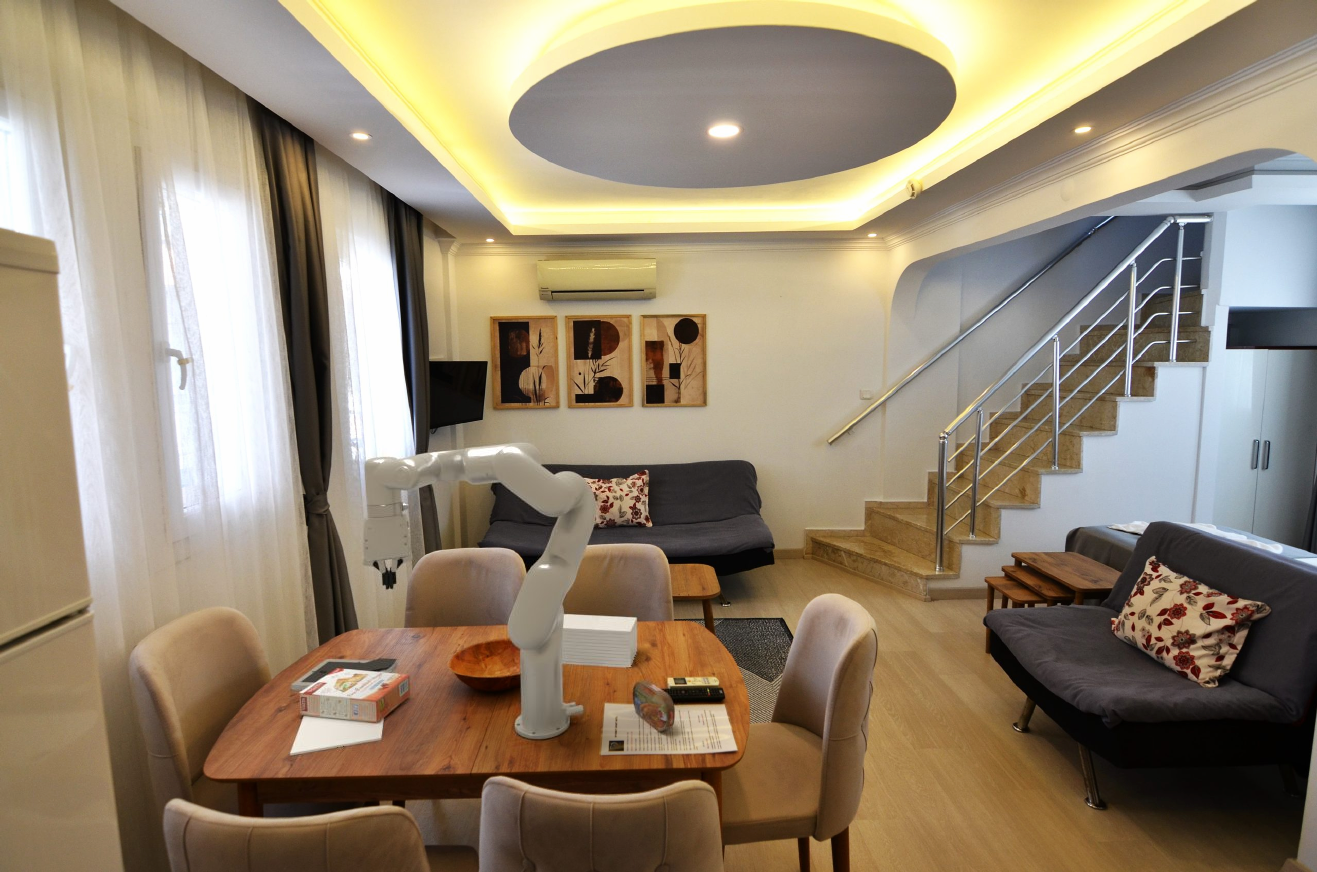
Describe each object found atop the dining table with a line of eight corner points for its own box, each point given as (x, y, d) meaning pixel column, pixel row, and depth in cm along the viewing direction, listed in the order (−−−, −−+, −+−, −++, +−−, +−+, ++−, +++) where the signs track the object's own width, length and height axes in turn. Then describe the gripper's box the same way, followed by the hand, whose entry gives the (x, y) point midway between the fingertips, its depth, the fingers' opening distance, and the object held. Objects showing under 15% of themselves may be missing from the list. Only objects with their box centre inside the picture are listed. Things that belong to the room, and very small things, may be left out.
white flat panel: (386, 695, 165) (386, 693, 165) (381, 740, 144) (381, 737, 144) (307, 707, 159) (307, 705, 159) (290, 755, 138) (289, 753, 138)
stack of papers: (520, 662, 185) (520, 625, 184) (532, 647, 196) (532, 612, 195) (630, 668, 181) (630, 631, 180) (636, 652, 192) (636, 617, 191)
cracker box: (377, 698, 150) (297, 692, 153) (378, 723, 150) (298, 716, 154) (410, 672, 164) (336, 666, 167) (411, 695, 164) (337, 689, 168)
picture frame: (397, 668, 182) (327, 665, 184) (396, 658, 182) (326, 656, 183) (367, 695, 166) (291, 692, 168) (367, 684, 166) (290, 681, 168)
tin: (631, 709, 158) (631, 676, 157) (642, 706, 160) (642, 673, 159) (665, 738, 145) (665, 702, 145) (677, 734, 147) (677, 698, 146)
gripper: (419, 504, 156) (423, 579, 157) (351, 510, 151) (356, 587, 152) (419, 510, 149) (423, 588, 150) (347, 516, 144) (353, 596, 145)
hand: (389, 587), depth 151 cm, fingers closed
